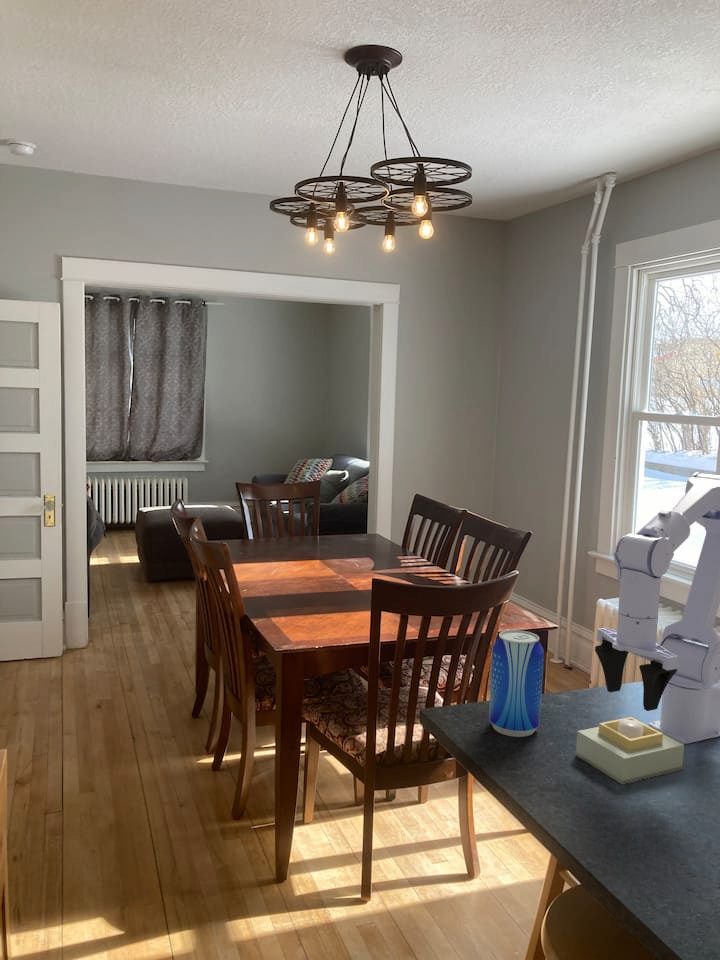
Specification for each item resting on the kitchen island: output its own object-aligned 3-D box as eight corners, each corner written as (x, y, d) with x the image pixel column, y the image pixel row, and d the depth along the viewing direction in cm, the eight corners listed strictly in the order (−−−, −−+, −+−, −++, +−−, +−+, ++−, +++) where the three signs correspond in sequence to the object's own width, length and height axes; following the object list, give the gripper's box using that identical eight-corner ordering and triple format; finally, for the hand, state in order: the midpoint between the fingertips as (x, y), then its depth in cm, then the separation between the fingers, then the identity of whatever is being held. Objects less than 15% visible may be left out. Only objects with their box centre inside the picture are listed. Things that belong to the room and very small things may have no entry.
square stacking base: (633, 742, 131) (635, 710, 130) (682, 769, 122) (685, 735, 121) (575, 755, 126) (578, 721, 125) (622, 784, 117) (624, 748, 116)
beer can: (539, 741, 130) (545, 646, 128) (487, 735, 132) (492, 641, 130) (538, 720, 138) (544, 630, 136) (489, 715, 140) (494, 626, 138)
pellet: (627, 751, 126) (630, 718, 126) (645, 761, 123) (648, 726, 122) (610, 755, 124) (613, 721, 124) (629, 765, 121) (632, 730, 121)
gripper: (584, 603, 126) (579, 686, 128) (655, 630, 113) (648, 722, 115) (618, 599, 129) (612, 680, 131) (691, 625, 116) (683, 714, 118)
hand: (631, 699), depth 123 cm, fingers open, 7 cm apart
